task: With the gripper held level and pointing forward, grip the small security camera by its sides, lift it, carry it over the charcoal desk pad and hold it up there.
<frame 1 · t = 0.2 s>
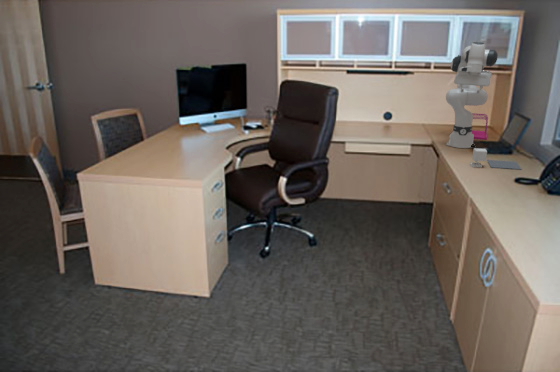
hand: (469, 92, 277), 39 cm above the table, tool pointing down, fingers open, 8 cm apart
desk pad: (503, 165, 265), on the table
file sorter: (473, 136, 341), on the table
security camera: (477, 166, 263), on the table
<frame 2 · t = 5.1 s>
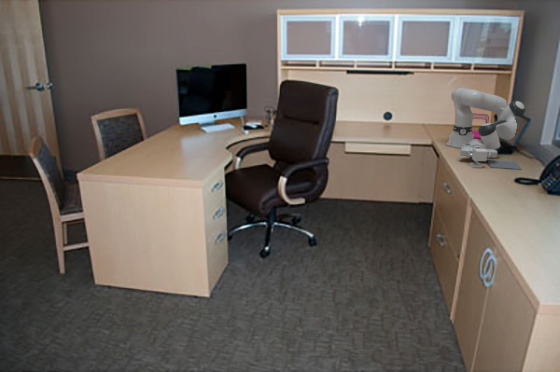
hand: (479, 156, 263), 6 cm above the table, tool horizontal, fingers open, 8 cm apart
security camera: (477, 166, 263), on the table, touching gripper
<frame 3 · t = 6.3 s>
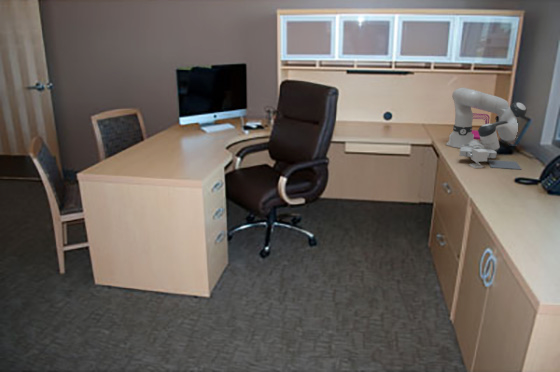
hand: (478, 156, 261), 6 cm above the table, tool horizontal, fingers open, 7 cm apart
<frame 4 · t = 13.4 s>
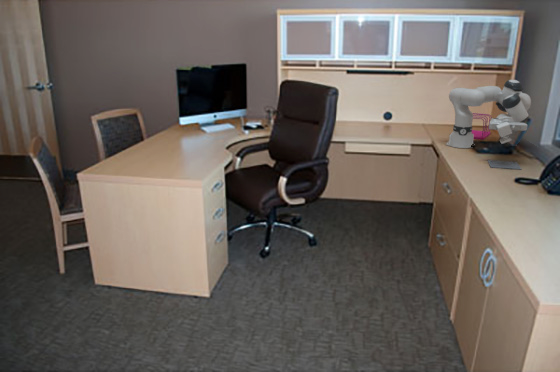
hand: (509, 128, 257), 22 cm above the table, tool horizontal, fingers closed on security camera
security camera: (507, 140, 260), point 15 cm above the table, touching gripper
at the end: the gripper is holding security camera; security camera inside the target area (0.2 cm from its centre), point 14.7 cm above the table; security camera tilted 26° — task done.
